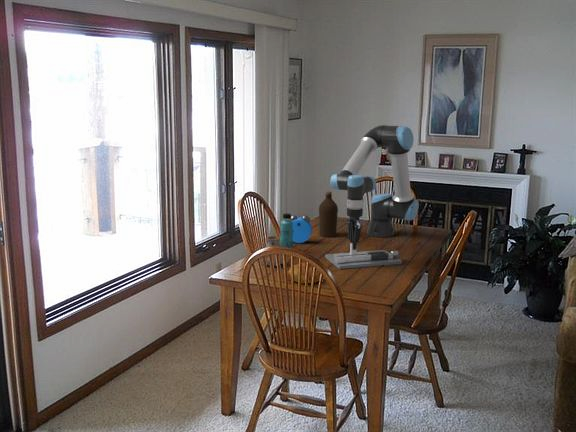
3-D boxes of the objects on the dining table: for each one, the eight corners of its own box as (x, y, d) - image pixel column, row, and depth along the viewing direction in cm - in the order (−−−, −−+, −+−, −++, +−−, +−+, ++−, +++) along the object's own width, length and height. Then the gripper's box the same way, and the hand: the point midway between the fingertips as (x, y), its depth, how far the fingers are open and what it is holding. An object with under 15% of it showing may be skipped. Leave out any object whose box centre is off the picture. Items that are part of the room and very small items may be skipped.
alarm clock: (311, 241, 333) (312, 214, 330) (310, 244, 327) (311, 216, 324) (288, 240, 335) (288, 213, 332) (286, 243, 329) (286, 215, 326)
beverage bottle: (279, 250, 315) (279, 212, 311) (292, 250, 315) (292, 212, 311) (280, 253, 309) (280, 215, 304) (293, 253, 309) (293, 215, 305)
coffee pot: (261, 260, 297) (261, 230, 294) (285, 260, 297) (285, 230, 294) (259, 274, 277) (259, 242, 273) (285, 274, 276) (285, 242, 273)
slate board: (384, 252, 312) (384, 249, 311) (402, 263, 293) (402, 260, 293) (325, 257, 303) (325, 254, 303) (339, 269, 284) (339, 266, 284)
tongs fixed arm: (396, 255, 301) (396, 250, 300) (400, 258, 296) (401, 252, 295) (333, 260, 292) (333, 254, 291) (337, 263, 287) (337, 257, 286)
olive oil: (328, 238, 339) (329, 194, 333) (314, 235, 346) (315, 191, 341) (341, 235, 346) (342, 192, 340) (327, 232, 353) (328, 189, 348)
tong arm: (385, 255, 301) (385, 250, 300) (387, 257, 298) (387, 252, 297) (333, 259, 294) (334, 254, 293) (335, 260, 291) (336, 255, 291)
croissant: (284, 281, 274) (282, 264, 272) (316, 272, 279) (314, 256, 277) (295, 290, 261) (293, 272, 259) (329, 281, 266) (326, 264, 264)
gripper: (342, 205, 296) (341, 252, 301) (352, 211, 284) (350, 259, 289) (357, 204, 298) (355, 251, 303) (367, 210, 286) (365, 258, 291)
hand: (353, 255), depth 296 cm, fingers closed
